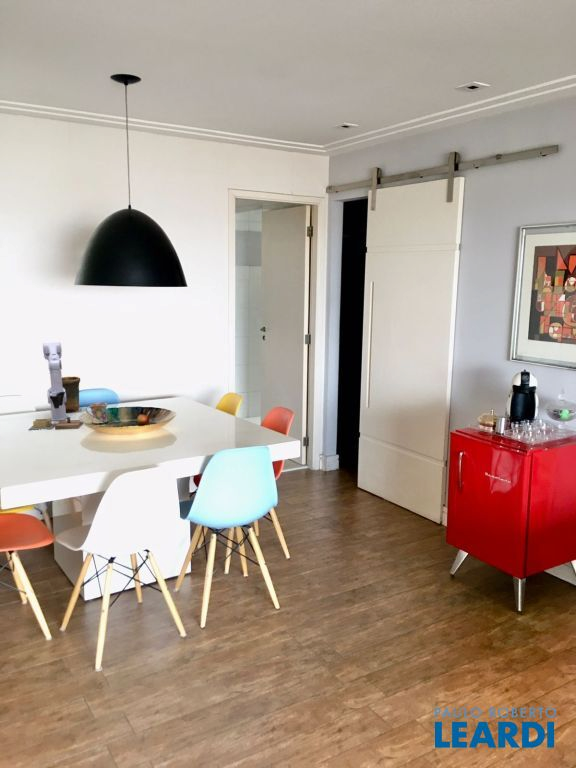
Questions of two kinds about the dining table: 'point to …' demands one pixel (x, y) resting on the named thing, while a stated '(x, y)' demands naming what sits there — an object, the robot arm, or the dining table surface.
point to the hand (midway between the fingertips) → (58, 406)
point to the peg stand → (68, 424)
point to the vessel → (71, 393)
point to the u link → (42, 423)
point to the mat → (44, 427)
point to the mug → (98, 411)
